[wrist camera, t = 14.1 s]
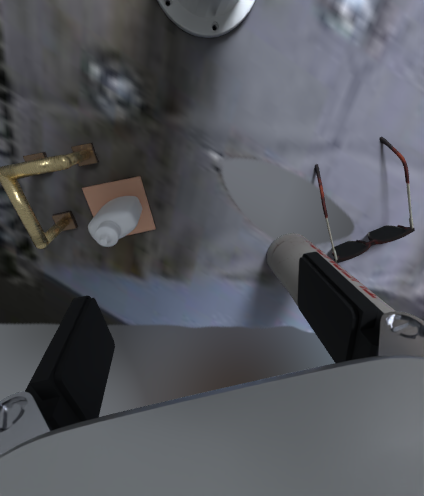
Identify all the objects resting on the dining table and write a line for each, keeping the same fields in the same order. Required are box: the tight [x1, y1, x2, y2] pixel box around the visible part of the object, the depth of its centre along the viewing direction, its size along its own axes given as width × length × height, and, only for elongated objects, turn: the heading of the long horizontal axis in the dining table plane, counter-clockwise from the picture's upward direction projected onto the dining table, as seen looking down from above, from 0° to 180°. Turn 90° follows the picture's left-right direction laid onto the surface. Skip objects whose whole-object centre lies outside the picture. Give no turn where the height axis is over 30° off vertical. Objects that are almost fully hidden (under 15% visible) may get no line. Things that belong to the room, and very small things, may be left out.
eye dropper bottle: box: [88, 196, 142, 247], centre depth 31 cm, size 4×6×12 cm
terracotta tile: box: [82, 176, 156, 236], centre depth 37 cm, size 8×8×1 cm
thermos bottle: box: [267, 233, 395, 314], centre depth 33 cm, size 8×8×28 cm
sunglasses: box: [315, 137, 415, 263], centre depth 41 cm, size 14×16×5 cm
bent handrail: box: [0, 143, 99, 249], centre depth 31 cm, size 10×8×9 cm
